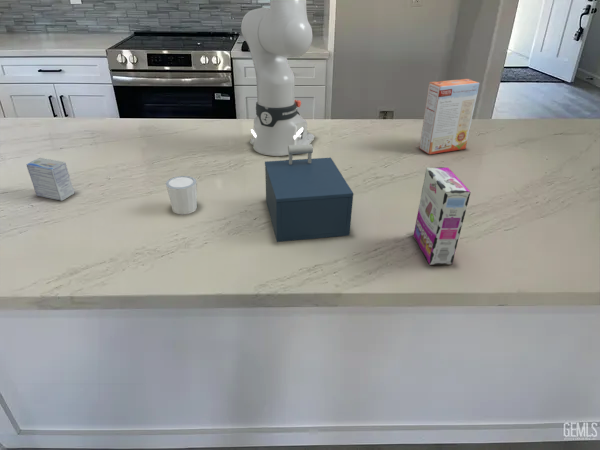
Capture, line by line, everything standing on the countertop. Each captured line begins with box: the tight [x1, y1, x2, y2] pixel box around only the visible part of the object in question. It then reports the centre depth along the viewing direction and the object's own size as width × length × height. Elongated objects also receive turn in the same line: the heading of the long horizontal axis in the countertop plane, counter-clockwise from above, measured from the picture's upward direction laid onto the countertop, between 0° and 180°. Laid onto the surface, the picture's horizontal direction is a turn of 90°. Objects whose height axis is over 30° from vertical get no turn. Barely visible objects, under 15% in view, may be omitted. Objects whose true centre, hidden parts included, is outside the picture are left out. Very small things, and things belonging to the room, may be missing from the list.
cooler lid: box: [264, 143, 354, 202], centre depth 96 cm, size 19×16×5 cm
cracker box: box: [419, 78, 480, 155], centre depth 134 cm, size 14×6×21 cm, turn 111°
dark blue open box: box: [264, 166, 354, 243], centre depth 100 cm, size 18×16×10 cm
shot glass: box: [165, 175, 198, 215], centre depth 103 cm, size 7×7×7 cm
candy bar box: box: [412, 166, 472, 266], centre depth 87 cm, size 11×5×16 cm, turn 5°
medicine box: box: [26, 157, 75, 202], centre depth 107 cm, size 8×4×9 cm, turn 71°
